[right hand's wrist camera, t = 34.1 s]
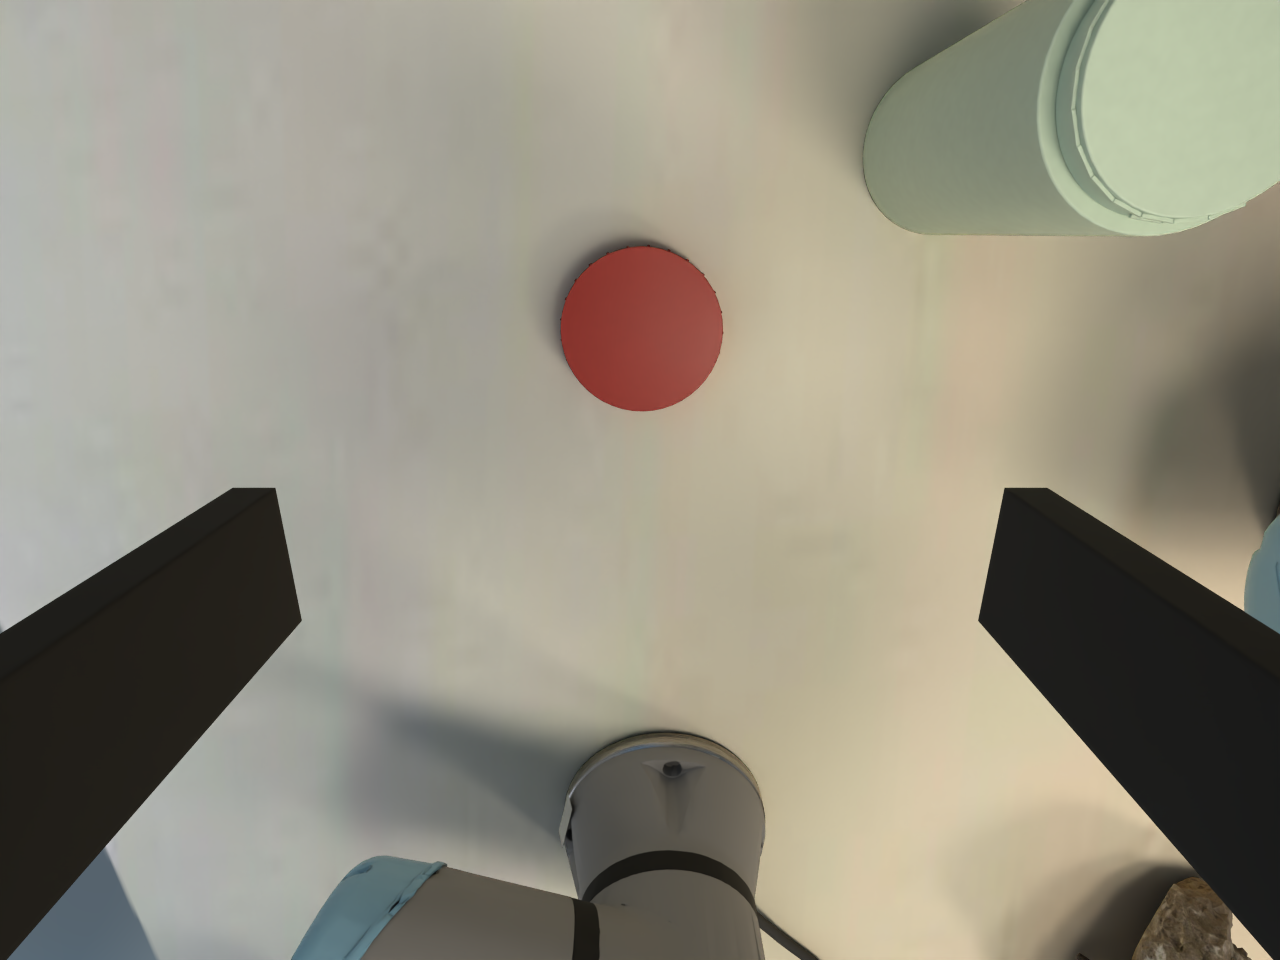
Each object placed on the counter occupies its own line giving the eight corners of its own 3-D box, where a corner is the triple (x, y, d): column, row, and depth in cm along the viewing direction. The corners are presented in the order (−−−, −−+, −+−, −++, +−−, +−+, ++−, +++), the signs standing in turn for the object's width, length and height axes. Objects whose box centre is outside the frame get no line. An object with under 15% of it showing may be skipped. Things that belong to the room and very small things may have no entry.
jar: (844, 96, 36) (1039, -34, 18) (1009, 27, 35) (1384, -181, 17) (884, 258, 38) (1086, 279, 21) (1038, 199, 37) (1385, 170, 20)
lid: (529, 315, 39) (525, 318, 38) (655, 208, 37) (655, 207, 36) (629, 435, 42) (628, 443, 41) (752, 341, 40) (756, 345, 39)
